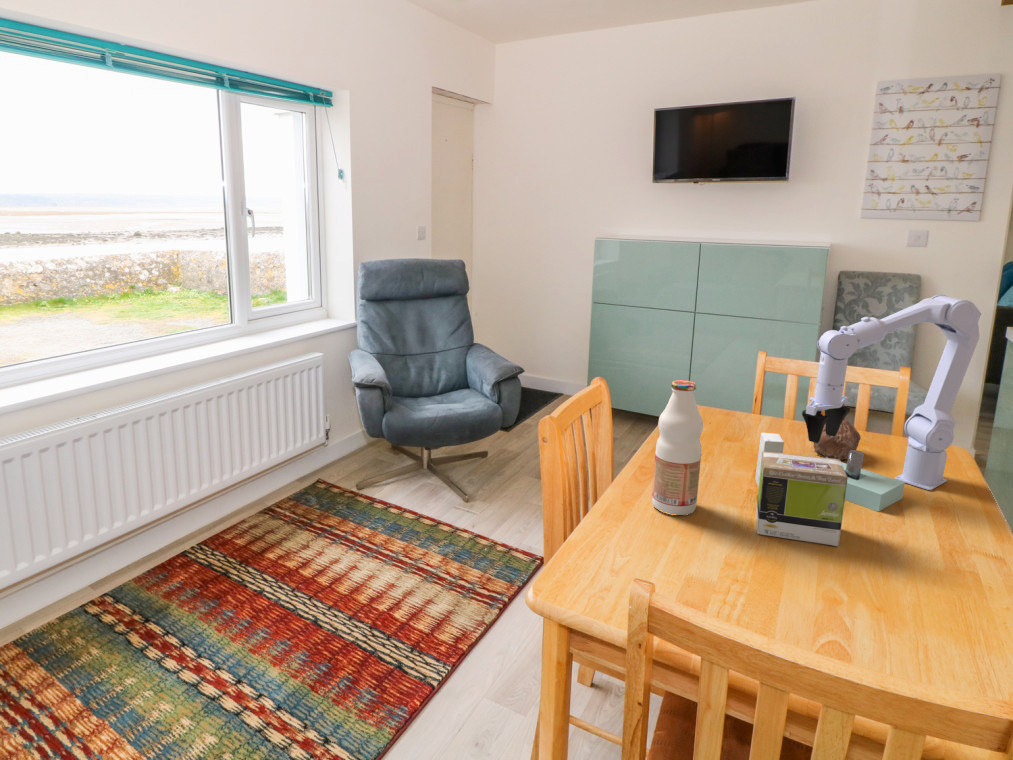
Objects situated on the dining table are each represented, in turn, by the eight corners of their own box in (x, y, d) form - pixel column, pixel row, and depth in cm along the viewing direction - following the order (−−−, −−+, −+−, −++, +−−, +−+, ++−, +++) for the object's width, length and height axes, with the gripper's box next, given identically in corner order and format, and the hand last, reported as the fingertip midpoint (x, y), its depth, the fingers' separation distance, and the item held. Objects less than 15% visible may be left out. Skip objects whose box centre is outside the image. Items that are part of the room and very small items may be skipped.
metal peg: (846, 486, 154) (852, 449, 151) (859, 491, 151) (866, 453, 149) (840, 490, 152) (846, 452, 149) (853, 494, 150) (860, 456, 147)
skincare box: (778, 491, 151) (784, 442, 148) (758, 489, 152) (764, 440, 149) (773, 480, 157) (779, 433, 153) (754, 479, 157) (760, 432, 154)
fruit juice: (657, 517, 138) (667, 389, 130) (646, 497, 147) (655, 376, 140) (701, 517, 138) (714, 389, 131) (688, 497, 147) (699, 376, 140)
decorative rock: (815, 443, 182) (820, 408, 179) (860, 452, 175) (866, 416, 173) (804, 457, 171) (809, 421, 169) (852, 467, 165) (858, 430, 162)
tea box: (832, 525, 135) (842, 458, 132) (838, 548, 126) (850, 477, 122) (754, 513, 140) (762, 448, 136) (755, 535, 131) (763, 466, 127)
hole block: (824, 472, 162) (826, 457, 161) (901, 498, 148) (904, 482, 147) (799, 483, 155) (802, 467, 154) (878, 511, 141) (881, 494, 140)
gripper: (829, 374, 159) (822, 427, 162) (796, 383, 150) (789, 439, 154) (859, 381, 153) (850, 436, 157) (826, 390, 145) (818, 448, 148)
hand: (822, 438), depth 155 cm, fingers open, 7 cm apart
